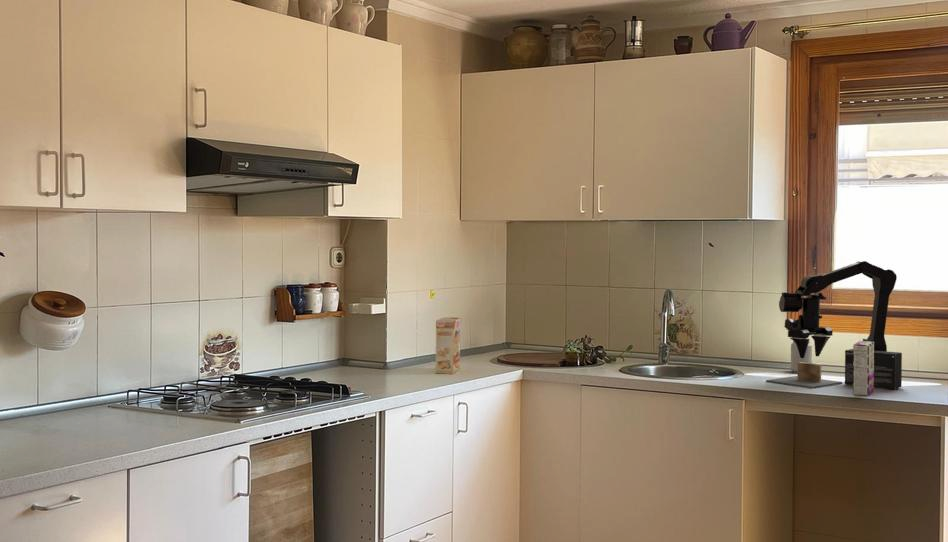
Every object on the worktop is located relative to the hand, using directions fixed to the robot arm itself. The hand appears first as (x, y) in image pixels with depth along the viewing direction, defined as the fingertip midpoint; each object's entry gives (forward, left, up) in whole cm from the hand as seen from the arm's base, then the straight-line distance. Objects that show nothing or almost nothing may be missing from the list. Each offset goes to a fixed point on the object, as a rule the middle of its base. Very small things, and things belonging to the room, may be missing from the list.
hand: (809, 357), depth 324 cm
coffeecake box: (+95, +86, -9) cm, 128 cm away
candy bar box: (-23, +6, -9) cm, 26 cm away
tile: (0, 0, -8) cm, 8 cm away
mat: (+1, +2, -9) cm, 9 cm away
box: (-17, -11, -9) cm, 22 cm away
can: (+17, -21, -9) cm, 29 cm away
